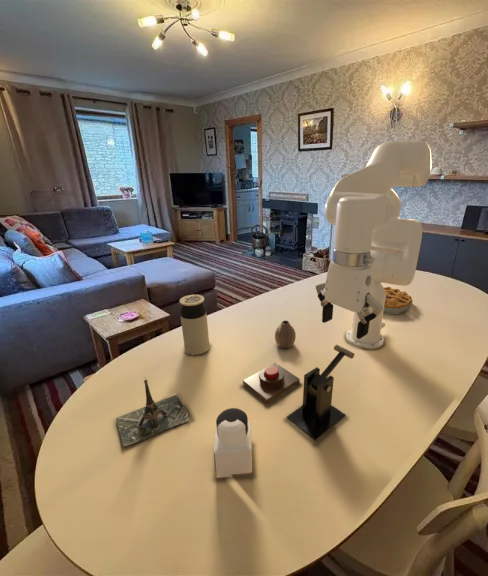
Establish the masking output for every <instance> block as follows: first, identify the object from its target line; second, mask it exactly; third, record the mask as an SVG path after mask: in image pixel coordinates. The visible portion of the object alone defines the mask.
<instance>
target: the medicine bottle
mask: <svg viewBox="0 0 488 576" xmlns="http://www.w3.org/2000/svg"><path fill="white" fill-rule="evenodd" d="M215 425H216V426H215V436H214V444H213V459H214V460H213V461H214V470H215V477H216V478H217V479H221V478H222V479H224V478H233V477H234V476H233V475H241V474H251V473H252V472H253V451H252V450H253V446H252V444H253V442H252V423H251V421H249V418H248V415H247V413H246V412H245V411H244V410H242V409H240V408H237V407H236V408H235V407H231V408H227V409H224V410H223V411H222V412H220V413H219V414H218V415H217V417H216V419H215Z"/></svg>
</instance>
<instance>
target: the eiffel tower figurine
mask: <svg viewBox="0 0 488 576" xmlns="http://www.w3.org/2000/svg"><path fill="white" fill-rule="evenodd" d="M143 384H144V389H145V406H143V407H141V408H138V409H136V410H133V411H130V412H129V413H126V414H123V415H121V416H119V417H116V423H117V428H118V431H119V435H120V438H121V442H122V446H123V447H128V446H130V445H133V444H136V443H139V442H141V441H144V440H146V439H148V438H151V437H153V436H155V435H157V434H160V433H161V432H164V431H166V430H168V429H172V428H173V427H177V426H180V425H182V424H185V423H187V422H188V419H190V418H191V416H190V415H189V412H188V410H187V408H186V407H185V406H184V404H183V402H182V401H181V399H180V397H179V395H178V394H174V395H171V396H168V397H167V398H164V399H161V400H159V401H157V402H155V400H154V399H153V397H152V394H151V389H150V387H149V384H148V380H147V379H146V378H144V380H143Z"/></svg>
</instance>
